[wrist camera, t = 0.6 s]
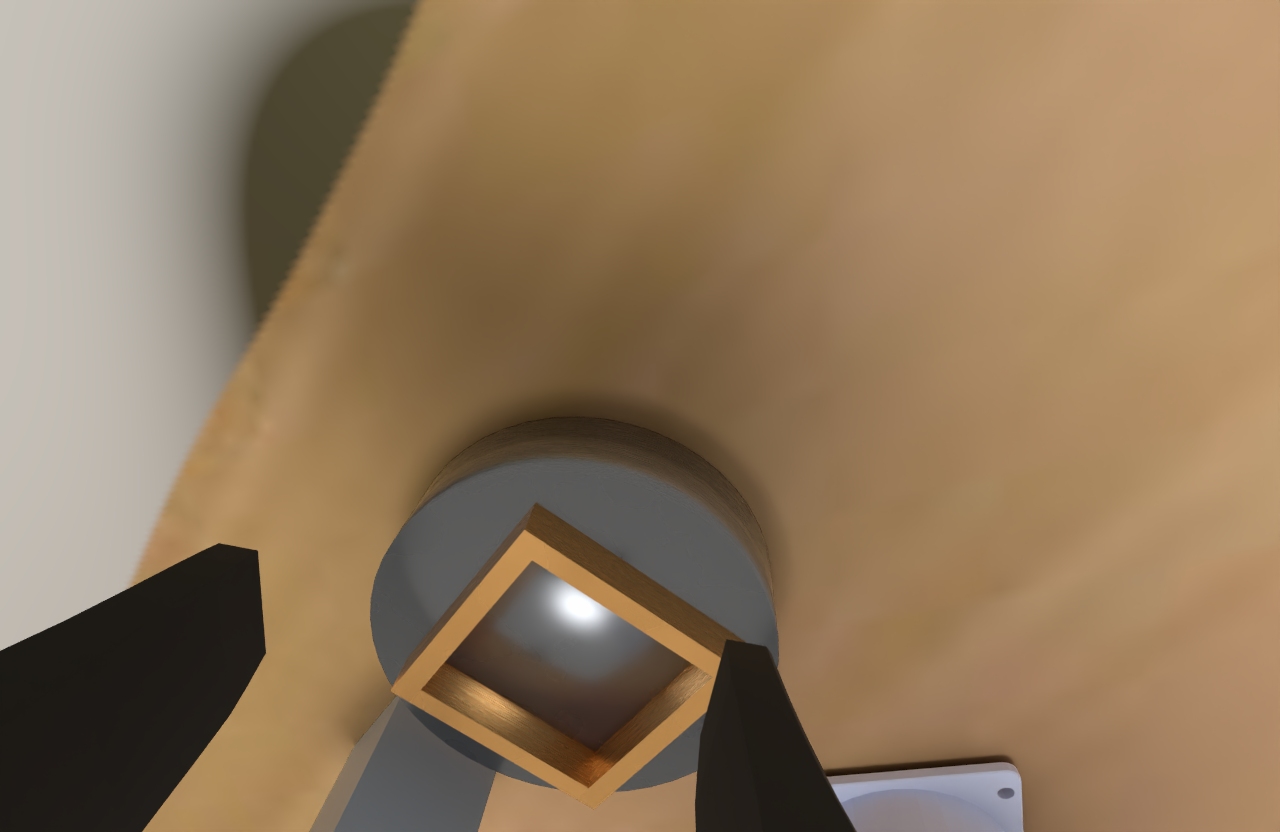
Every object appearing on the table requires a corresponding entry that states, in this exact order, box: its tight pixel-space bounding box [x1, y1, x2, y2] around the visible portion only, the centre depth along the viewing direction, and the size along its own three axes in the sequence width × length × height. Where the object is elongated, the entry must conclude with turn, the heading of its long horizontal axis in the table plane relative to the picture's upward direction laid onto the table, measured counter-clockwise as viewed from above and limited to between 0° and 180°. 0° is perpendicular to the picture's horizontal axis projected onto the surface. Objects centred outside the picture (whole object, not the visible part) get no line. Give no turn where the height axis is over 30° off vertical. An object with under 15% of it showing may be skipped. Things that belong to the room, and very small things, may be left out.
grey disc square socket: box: [370, 417, 779, 809], centre depth 21 cm, size 12×11×4 cm
